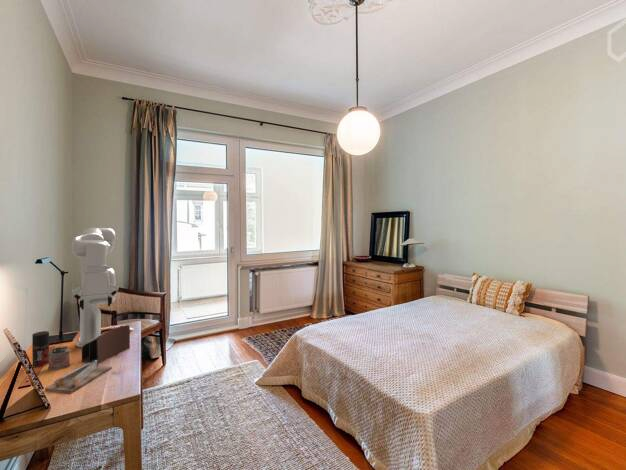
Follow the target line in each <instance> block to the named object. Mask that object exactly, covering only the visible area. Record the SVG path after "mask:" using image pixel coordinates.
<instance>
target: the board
mask: <svg viewBox="0 0 626 470" xmlns="http://www.w3.org/2000/svg"><path fill="white" fill-rule="evenodd" d="M112 369H113V367H112V366H109V365H108V366H107V365H100V364H97V368H96V369H95V370H94V371H93V372H92V373H90V374H89V375H88V376H87V377H86V378H85V379H83V380H82V381H81V382H80V383H79V384H78V385H77V386H76V387H72V380H71V381H69V382H67V383H66V384H64V385H62V386H60V387H56V382H54V383H52V384H50V385H48V386H46V387H45V389H44V390H45V392H55V393H69V394H73V393H75V392H76V391H78V390H79V389H80V388H82V387H84V386H86V385H87V384H89V383H91V382H92V381H94V380H96V379H98V378H99V377H100V376H102V375H103V374H106V373H107V372H109V371H110V370H112Z"/></svg>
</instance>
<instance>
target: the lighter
mask: <svg viewBox="0 0 626 470" xmlns="http://www.w3.org/2000/svg"><path fill="white" fill-rule="evenodd" d="M70 353H71V349H69V345H61V346H60V345H58V346H57V347H55V346H54V347H51V351H49V353H48V355H49V363H48V366H47V367H48V368H47V369H48V370H59V369H65V368H68V367H71V363H70V361H71V360H70Z"/></svg>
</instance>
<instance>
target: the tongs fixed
mask: <svg viewBox="0 0 626 470" xmlns="http://www.w3.org/2000/svg"><path fill="white" fill-rule="evenodd" d="M93 362H97V360H93V361H92V363H93ZM92 363H91V362H86V363H85V364H83V365H81V366H79V367H78V368H75V369H74V370H72V371H70V372H68V373H66V374H65V375H63V376H60V377H59V378H56V380H55V383H56V387H60V386H62V385H64V384H66V383H67V382H69V381H71V380H72V379H73V378H74V377H76V376H77V375H78V374H80V373H81V372H82V371H83V370H85V369H86V368H87V367H88V366H90V365H91V364H92ZM96 368H97V366H96Z"/></svg>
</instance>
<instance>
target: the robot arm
mask: <svg viewBox="0 0 626 470" xmlns="http://www.w3.org/2000/svg"><path fill="white" fill-rule="evenodd" d="M116 237H117V236H116V232H115V230H114V229H113V228H110V227H89V228H86V229H84V231H82V233H81V235H79V236H75V237H74V238H73V239H72V242H71V253H72V255H73V256H74V257H78V258H79V259H80V264H81V266H80V269H81V272H80V275H81V279H80V280H81V286H79V287H76V288H74V289H72V290H70V292H71V293H70V294H72V295H73V296H74V298H75V299H77V300H78V304H79V305H78V306H79V341H76V347H77V348H82V347H83V346H84V345H85V344H87V343H89V342H91V341H93V340H94V339H96V338H98V337H99V336H100V335H102V334H101V333H102V312H101V309H100V308H99V307H97V306H96V305H102V304H107V306H108V307H111V305H112V303H113V302H115V300H116V296H117V292H118V291H119V288H120V286H118V285H117V281H116V271H115V270H114V268H113V267H111V266H110V265H107V255H108V254H111V253H112V252H113V251H114V249H115V245H116ZM77 292H78V293H77Z"/></svg>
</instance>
